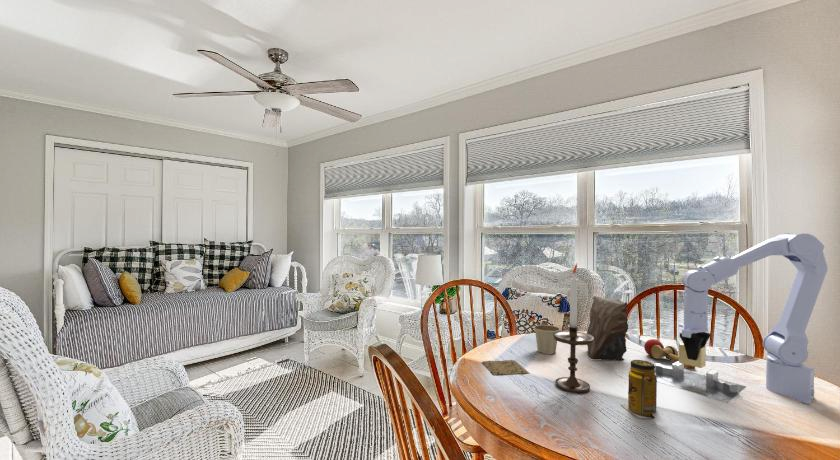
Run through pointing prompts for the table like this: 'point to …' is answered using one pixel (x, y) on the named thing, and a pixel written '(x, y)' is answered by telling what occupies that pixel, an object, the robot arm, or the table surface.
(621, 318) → the brown rock block
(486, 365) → the brown stone coaster
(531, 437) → the table surface
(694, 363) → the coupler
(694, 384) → the shaft base
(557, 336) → the candlestick
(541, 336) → the flower pot
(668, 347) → the kendama
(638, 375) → the condiment
